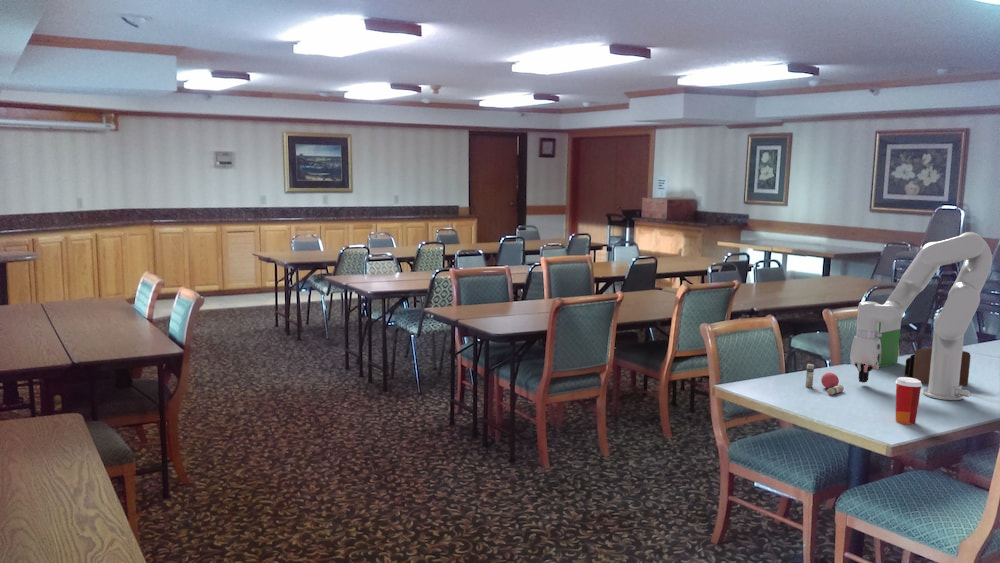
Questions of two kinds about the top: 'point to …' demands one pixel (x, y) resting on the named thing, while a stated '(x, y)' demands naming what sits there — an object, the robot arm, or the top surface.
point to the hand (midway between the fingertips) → (863, 381)
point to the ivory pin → (835, 389)
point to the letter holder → (921, 363)
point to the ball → (829, 380)
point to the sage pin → (809, 375)
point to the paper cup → (907, 399)
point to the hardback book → (889, 343)
